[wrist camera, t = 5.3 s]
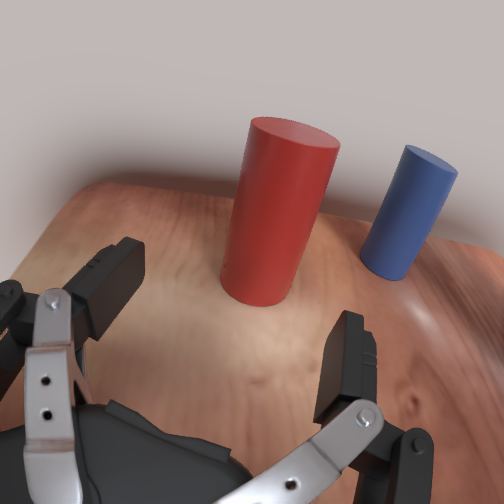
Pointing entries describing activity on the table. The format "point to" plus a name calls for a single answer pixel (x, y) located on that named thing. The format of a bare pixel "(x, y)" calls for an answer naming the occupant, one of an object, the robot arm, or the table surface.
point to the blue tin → (407, 213)
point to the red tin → (275, 207)
